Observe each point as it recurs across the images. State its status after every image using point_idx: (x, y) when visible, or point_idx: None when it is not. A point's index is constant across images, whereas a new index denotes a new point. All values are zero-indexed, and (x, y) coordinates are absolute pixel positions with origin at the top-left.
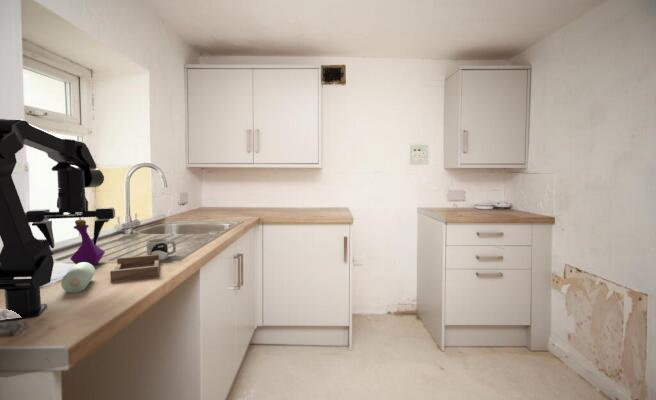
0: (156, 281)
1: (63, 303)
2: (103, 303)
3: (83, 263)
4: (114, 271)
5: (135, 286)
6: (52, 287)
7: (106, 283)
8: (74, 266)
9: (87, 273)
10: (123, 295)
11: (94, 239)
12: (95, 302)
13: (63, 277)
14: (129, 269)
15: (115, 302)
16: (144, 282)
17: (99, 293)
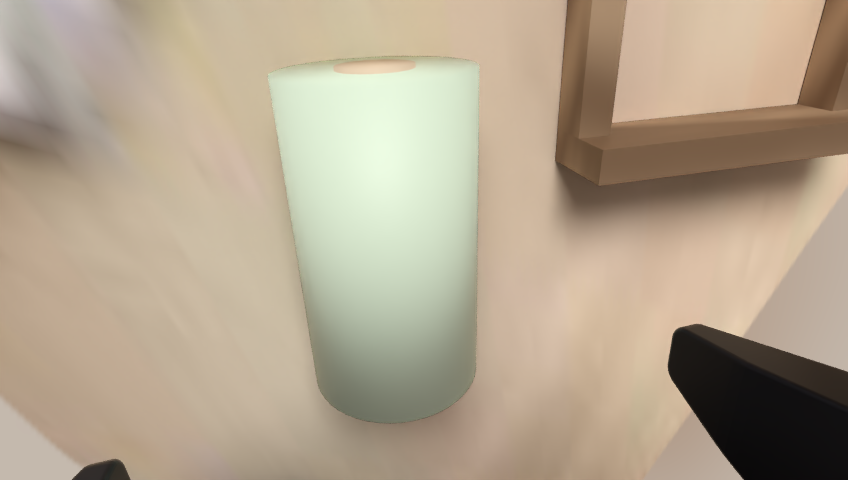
0: (774, 232)
1: (376, 458)
2: (540, 474)
3: (418, 149)
4: (624, 181)
5: (672, 291)
6: (165, 165)
7: (531, 185)
8: (346, 204)
9: (475, 324)
10: (612, 403)
11: (746, 468)
12: (509, 462)
13: (338, 409)
14: (720, 169)
15: (582, 470)
16: (721, 233)
17: (512, 359)
